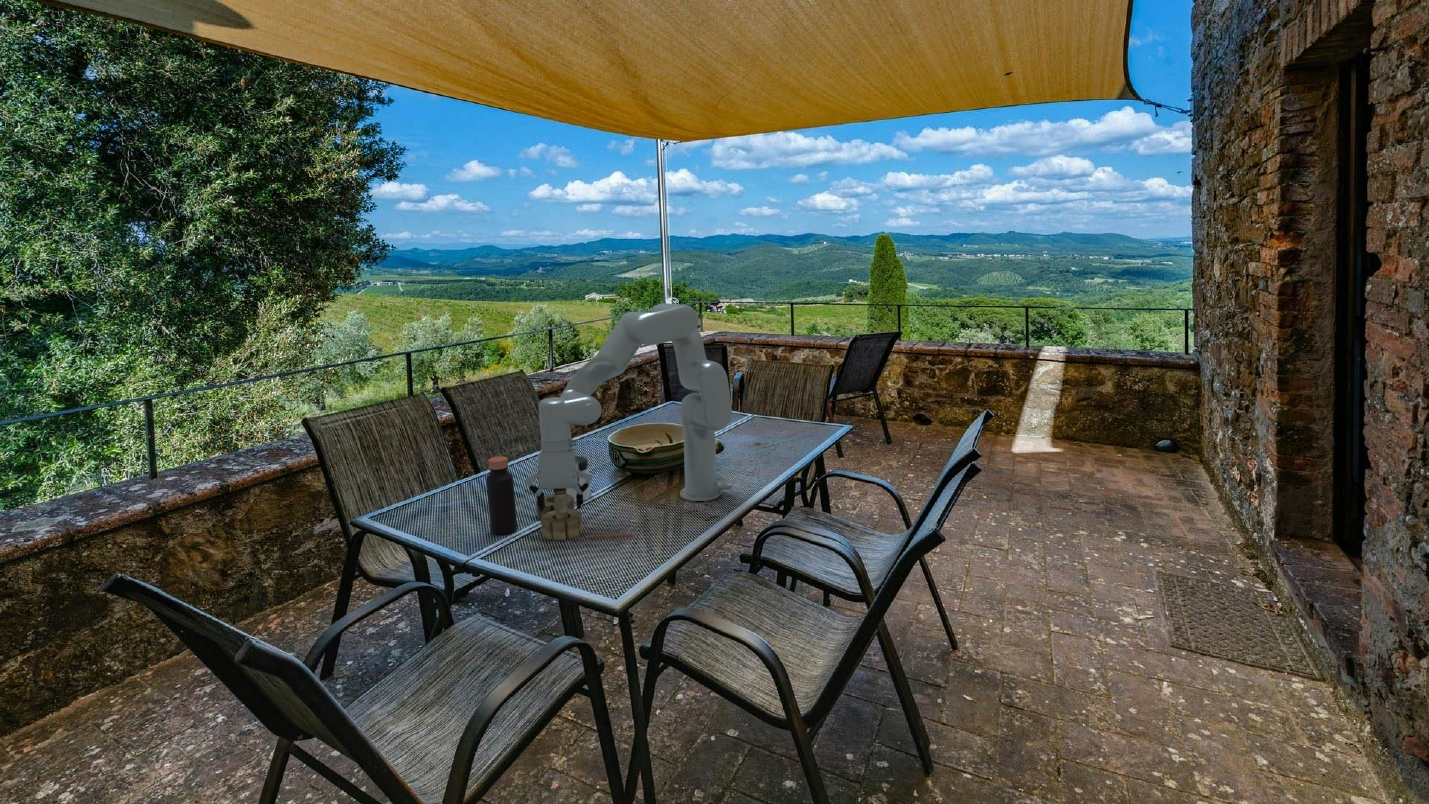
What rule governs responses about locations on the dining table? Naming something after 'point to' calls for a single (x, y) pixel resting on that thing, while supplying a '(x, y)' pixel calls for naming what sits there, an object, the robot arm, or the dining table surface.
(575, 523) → the bead
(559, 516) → the dowel
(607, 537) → the reddish brown square stick
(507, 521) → the bottle
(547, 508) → the bead
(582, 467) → the jar
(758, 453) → the dining table surface
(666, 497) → the dining table surface
